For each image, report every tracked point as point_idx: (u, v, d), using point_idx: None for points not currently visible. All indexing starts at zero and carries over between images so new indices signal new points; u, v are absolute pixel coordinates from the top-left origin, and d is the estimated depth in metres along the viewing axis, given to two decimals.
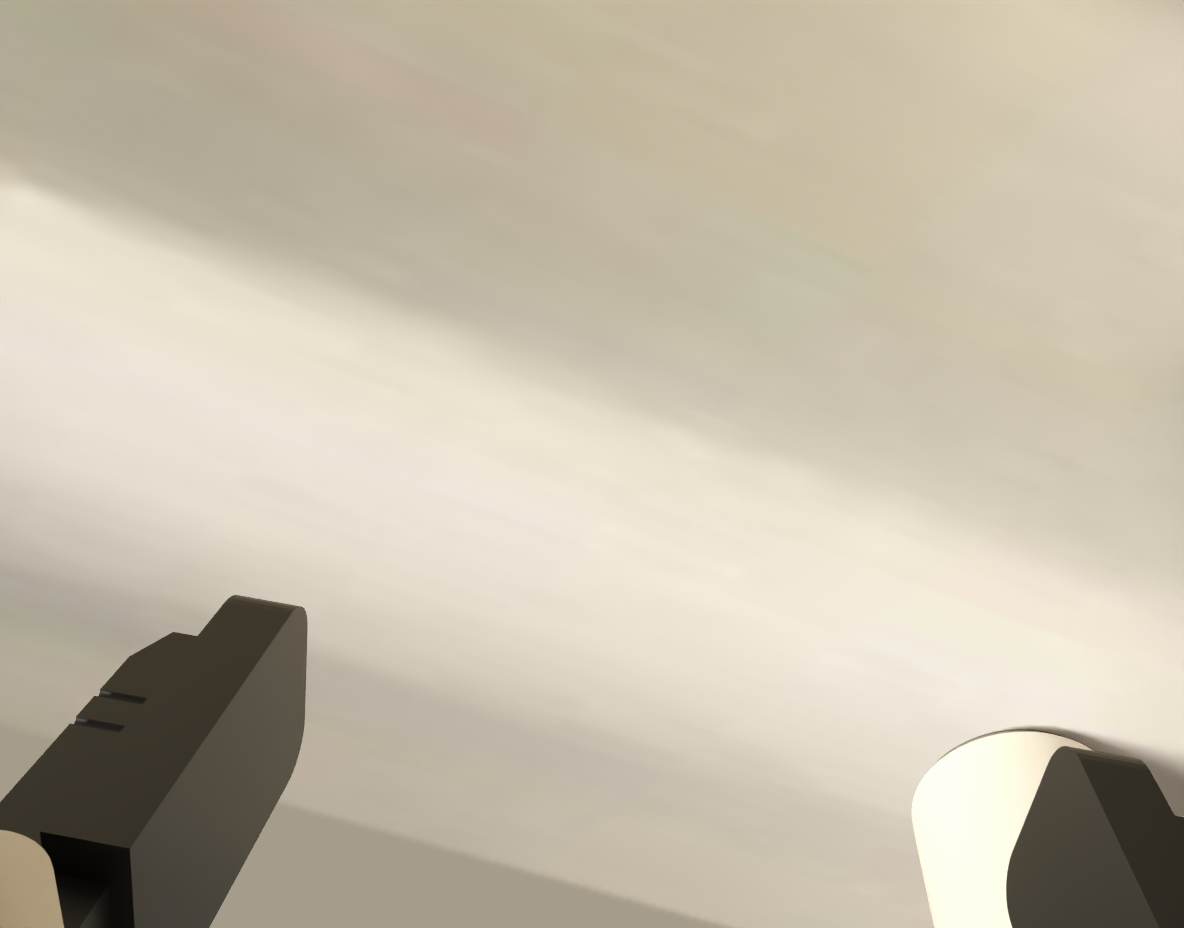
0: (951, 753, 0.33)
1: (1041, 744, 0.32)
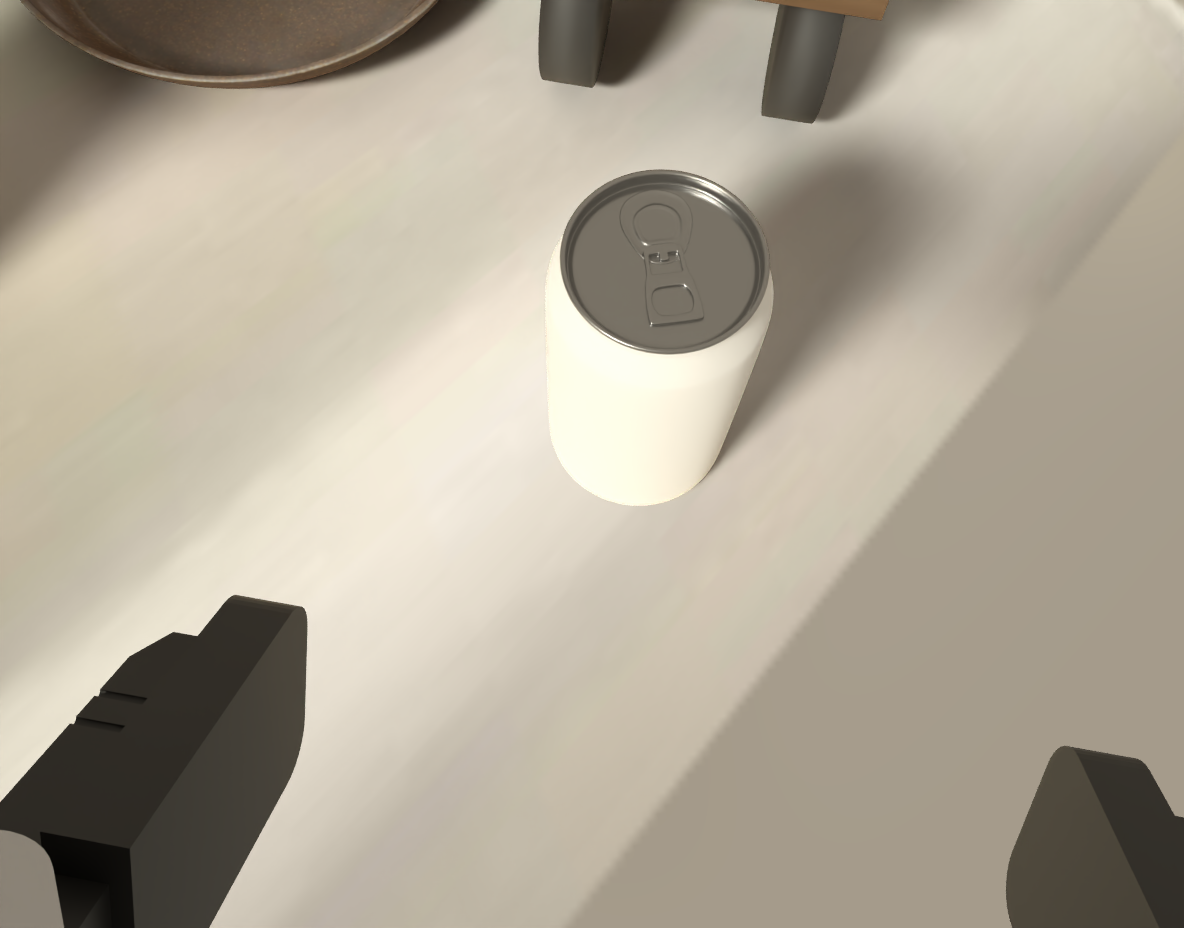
0: None
1: None
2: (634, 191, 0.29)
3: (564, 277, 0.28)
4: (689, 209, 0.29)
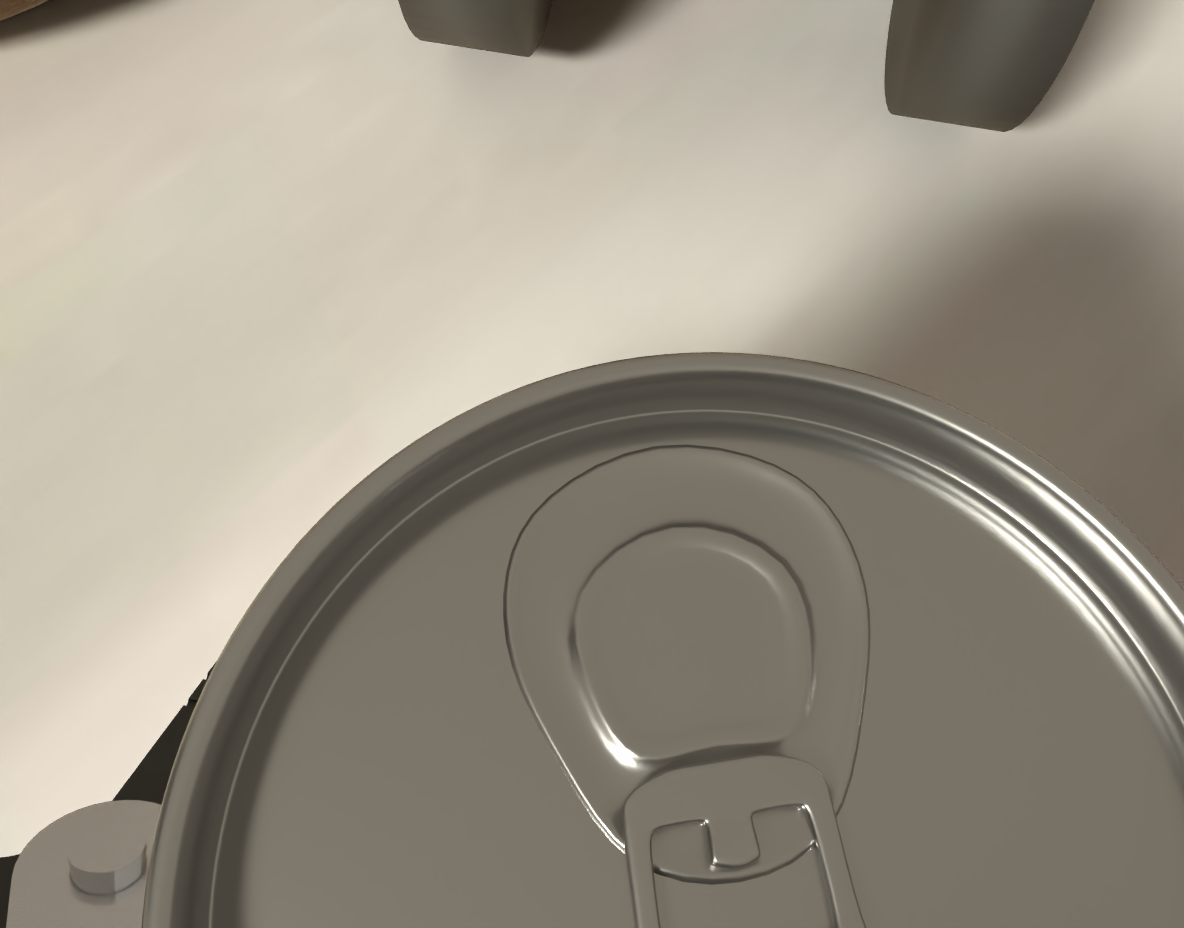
0: None
1: None
2: (580, 455, 0.06)
3: None
4: (853, 550, 0.06)
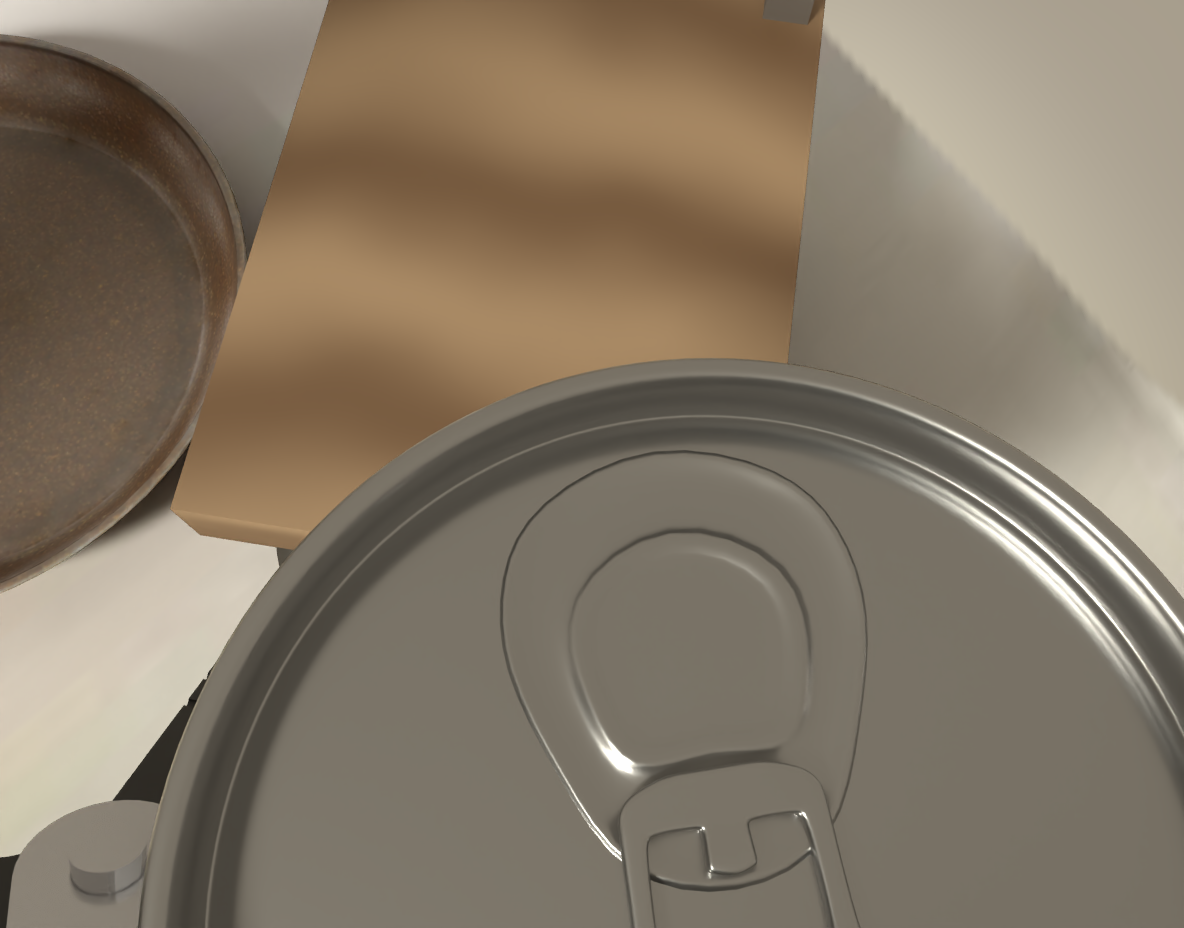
0: None
1: None
2: (577, 461, 0.06)
3: None
4: (849, 555, 0.06)
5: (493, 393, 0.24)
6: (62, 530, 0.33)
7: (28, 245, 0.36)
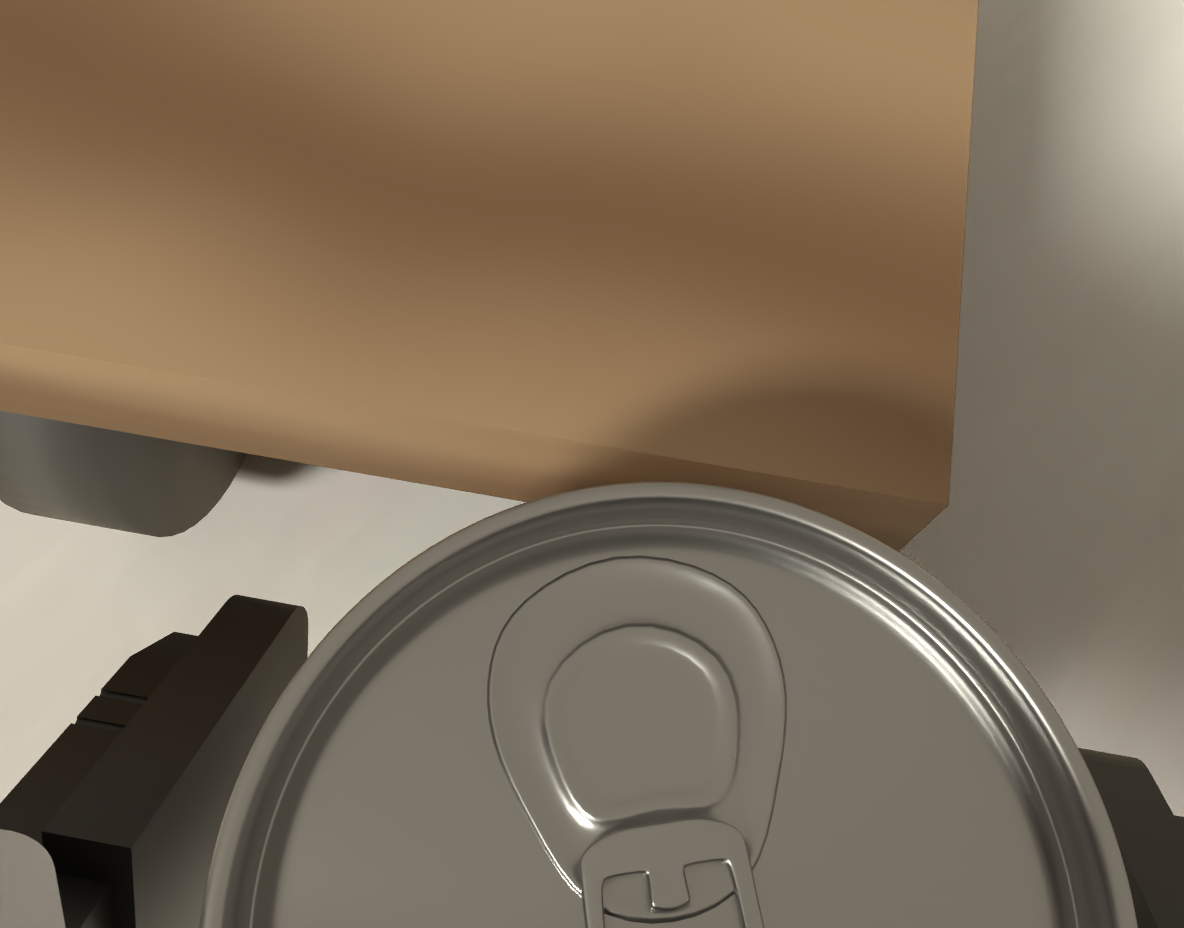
0: None
1: None
2: (553, 563, 0.07)
3: None
4: (775, 646, 0.07)
5: (333, 47, 0.11)
6: None
7: None
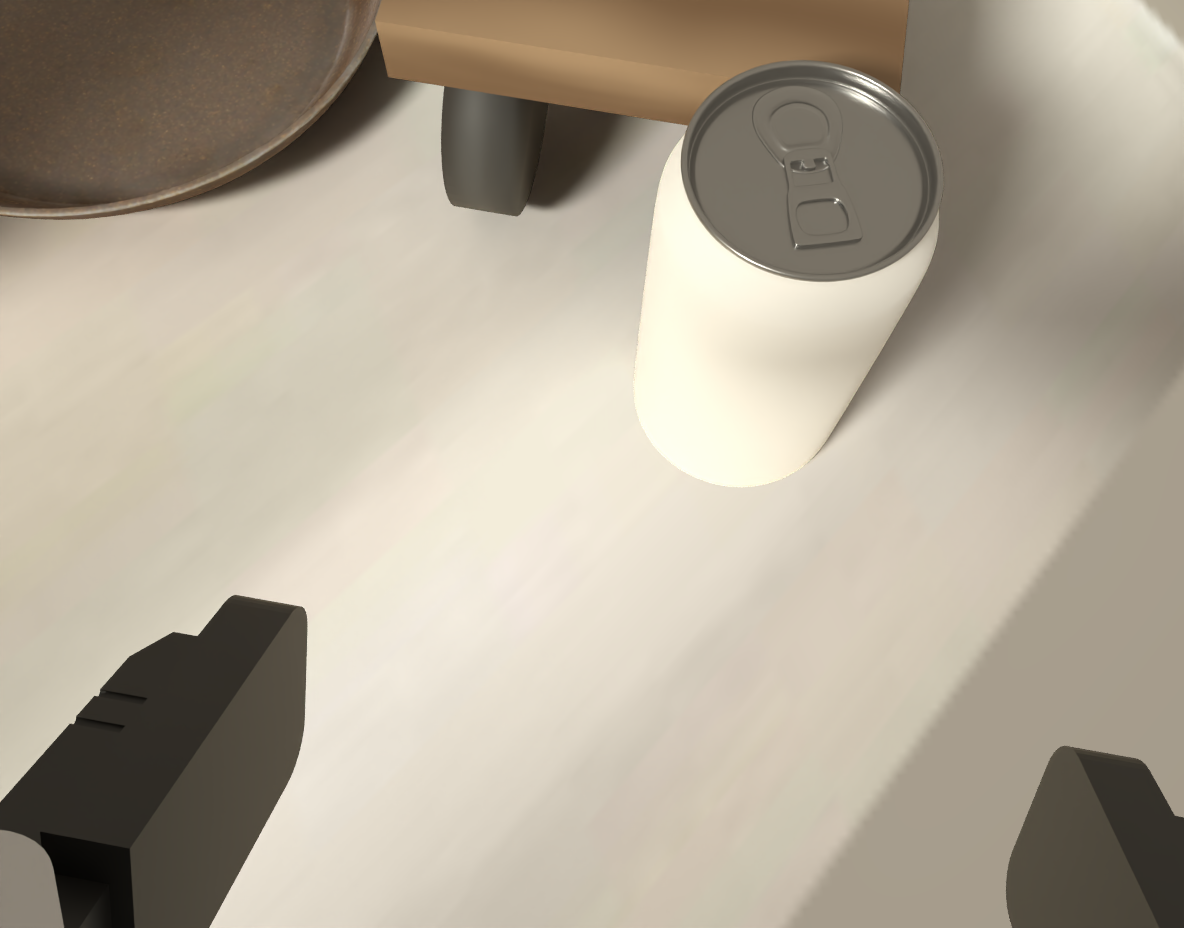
0: (641, 424, 0.33)
1: None
2: (769, 87, 0.24)
3: (687, 186, 0.22)
4: (838, 108, 0.23)
5: None
6: None
7: None
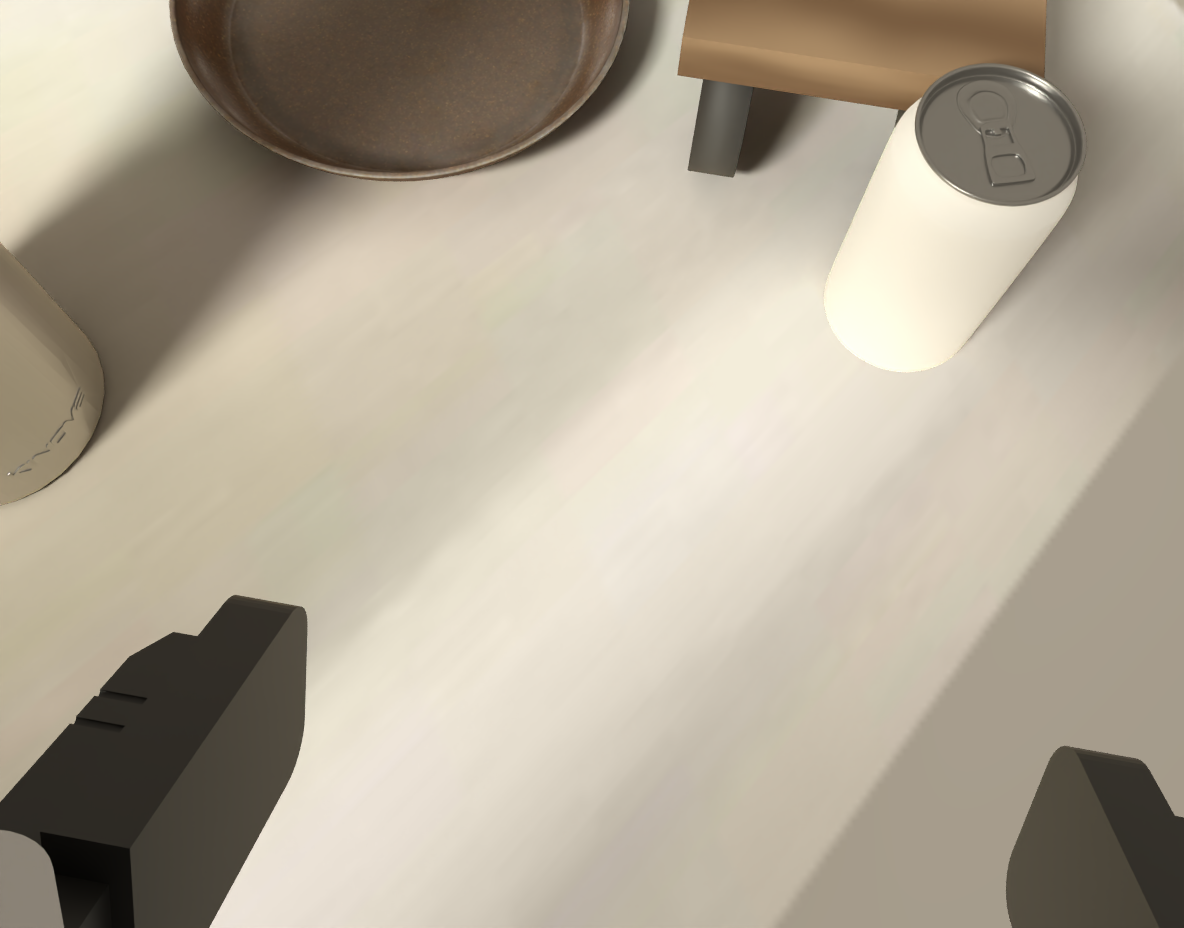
0: (832, 328, 0.45)
1: None
2: (966, 81, 0.36)
3: (922, 146, 0.34)
4: (1013, 95, 0.35)
5: None
6: (505, 146, 0.48)
7: None
